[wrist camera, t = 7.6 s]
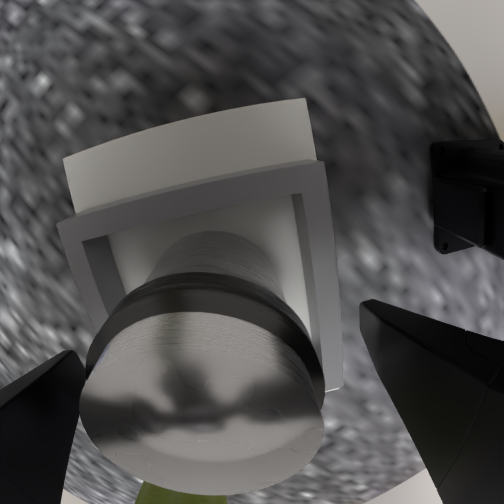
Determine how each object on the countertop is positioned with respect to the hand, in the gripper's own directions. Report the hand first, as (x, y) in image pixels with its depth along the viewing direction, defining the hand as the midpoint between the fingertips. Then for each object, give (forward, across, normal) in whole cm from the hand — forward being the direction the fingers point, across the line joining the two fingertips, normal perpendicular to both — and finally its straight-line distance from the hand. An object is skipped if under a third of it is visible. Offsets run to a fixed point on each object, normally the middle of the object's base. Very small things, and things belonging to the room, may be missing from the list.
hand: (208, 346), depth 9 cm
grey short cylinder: (+4, 0, 0) cm, 4 cm away
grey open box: (+8, 0, 0) cm, 8 cm away
